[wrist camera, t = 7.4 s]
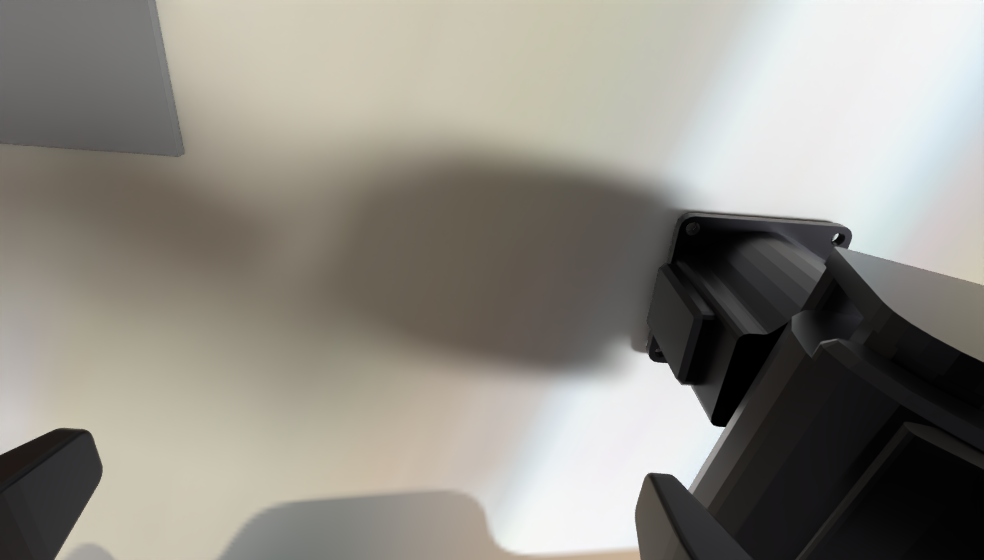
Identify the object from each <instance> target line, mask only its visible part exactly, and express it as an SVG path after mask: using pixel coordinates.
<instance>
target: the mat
mask: <svg viewBox="0 0 984 560" xmlns="http://www.w3.org/2000/svg"><path fill="white" fill-rule="evenodd" d="M0 144H14V145H27V146H41V147H55V148H68V149H82V150H95V151H109V152H123V153H136V154H150V155H164V156H177V157H178V156H181V155H183V154H184V150H183V144H182V139H181V134H180V129H179V123H178V118H177V113H176V108H175V102H174V97H173V92H172V87H171V81H170V76H169V71H168V66H167V60H166V55H165V50H164V45H163V39H162V34H161V29H160V24H159V18H158V13H157V8H156V2H155V0H0Z"/></svg>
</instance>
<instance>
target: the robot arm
mask: <svg viewBox="0 0 984 560" xmlns="http://www.w3.org/2000/svg"><path fill="white" fill-rule="evenodd" d="M694 222H695V223H696V226H695V228H694V229H693V230H692V231H689V232H687V231H686V227H687V225H689V224H690V223H694ZM837 233H839V235H838V237H837V239H836V240H834V241H832V242H831V238H832V237H833V236H834V235H835V234H837ZM851 239H852V233H851V231H850V230H849V229H848V228H847V227H845V226H843V225H841V224H838V223H828V222H814V221H800V220H786V219H773V218H759V217H745V216H731V215H717V214H704V213H687V214H685V215H683V216H681V217H680V218H679V219H678V221H677V223H676V226H675V231H674V235H673V239H672V243H671V247H670V251H669V255H668V259H667V263H665V264H664V265H663V266H662V267H660V268H659V271H658V275H657V279H656V284H655V288H654V292H653V296H652V301H651V305H650V309H649V313H648V317H647V323H648V325H649V327H650V333H649V338H648V342H647V346H646V351H647V353H648V355H649V357H650V359H651V360H653V361H654V362H659V363H668V364H669V366H670V368H671V370H672V372H673V374H674V376H675V378H676V379H677V380H678V381H679V383H680V384H681V385H689V386H691V387H692V389H693V391H694V392H695V394H696V396H697V398H698V400H699V401H700V403H701V405H702V407H703V409H704V411H705V412H706V414H707V416H708V418H709V420H710V422H711V423H712V424H713V425H714V426H718V427H726V428H725V429H724V431H723V433H722V434H721V436H720V438H719V439H718V441H717V443H716V444H715V446H714V448H713V449H712V451H711V453H710V454H709V456H708V458H707V459H706V461H705V463H704V464H703V466H702V468H701V469H700V471H699V473H698V474H697V476H696V478H695V479H694V481H693V483H692V484H691V486H690V488H689V489H688V490H687V489H686V488H685V487H684V486H683V485H682V484H681V483H680V482H679V481H678V479H677V478H675V477H674V476H672V475H670V474H661V473H648V474H647V475H646V476H645V478H644V481H643V485H642V488H641V491H640V495H639V498H638V501H637V505H636V510H635V523H636V530H637V537H638V544H639V550H640V557H641V560H984V286H983V285H980V284H977V283H973V282H969V281H965V280H962V279H958V278H954V277H950V276H947V275H943V274H939V273H935V272H931V271H928V270H924V269H920V268H916V267H913V266H909V265H905V264H901V263H897V262H894V261H890V260H886V259H882V258H879V257H875V256H871V255H867V254H863V253H860V252H856V251H852V250H848V247H849V244H850V242H851ZM658 348H660V349H661V351H660V352H655V351H656V349H658ZM102 472H103V467H102V463H101V460H100V457H99V454H98V451H97V448H96V445H95V442H94V439H93V436H92V434H91V433H90V432H89V431H88V430H84V429H73V428H59V429H55V430H53V431H51V432H49V433H46V434H44V435H42V436H40V437H38V438H36V439H34V440H32V441H29V442H27V443H25V444H23V445H21V446H19V447H17V448H14V449H12V450H10V451H8V452H6V453H4V454H2V455H0V560H54V559H55V558H56V556H57V554H58V552H59V551H60V549H61V547H62V546H63V544H64V542H65V540H66V539H67V537H68V535H69V534H70V532H71V530H72V529H73V527H74V525H75V523H76V522H77V520H78V518H79V517H80V515H81V513H82V511H83V510H84V508H85V506H86V505H87V503H88V501H89V499H90V498H91V496H92V494H93V493H94V491H95V489H96V487H97V486H98V484H99V482H100V479H101V477H102Z"/></svg>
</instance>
